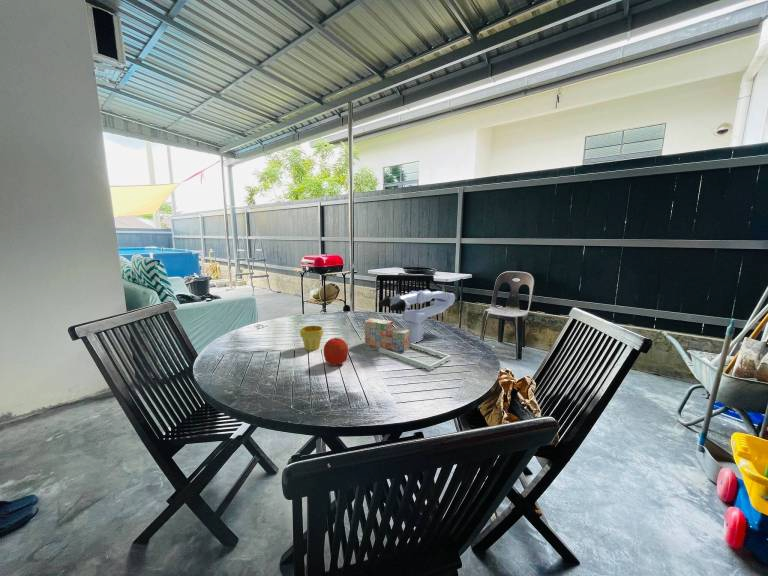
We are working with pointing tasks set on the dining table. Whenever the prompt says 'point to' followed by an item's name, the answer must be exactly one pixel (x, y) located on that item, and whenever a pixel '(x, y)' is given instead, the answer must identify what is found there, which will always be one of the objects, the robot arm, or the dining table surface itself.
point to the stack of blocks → (386, 335)
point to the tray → (416, 360)
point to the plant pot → (311, 336)
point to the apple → (335, 351)
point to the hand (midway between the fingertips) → (384, 306)
